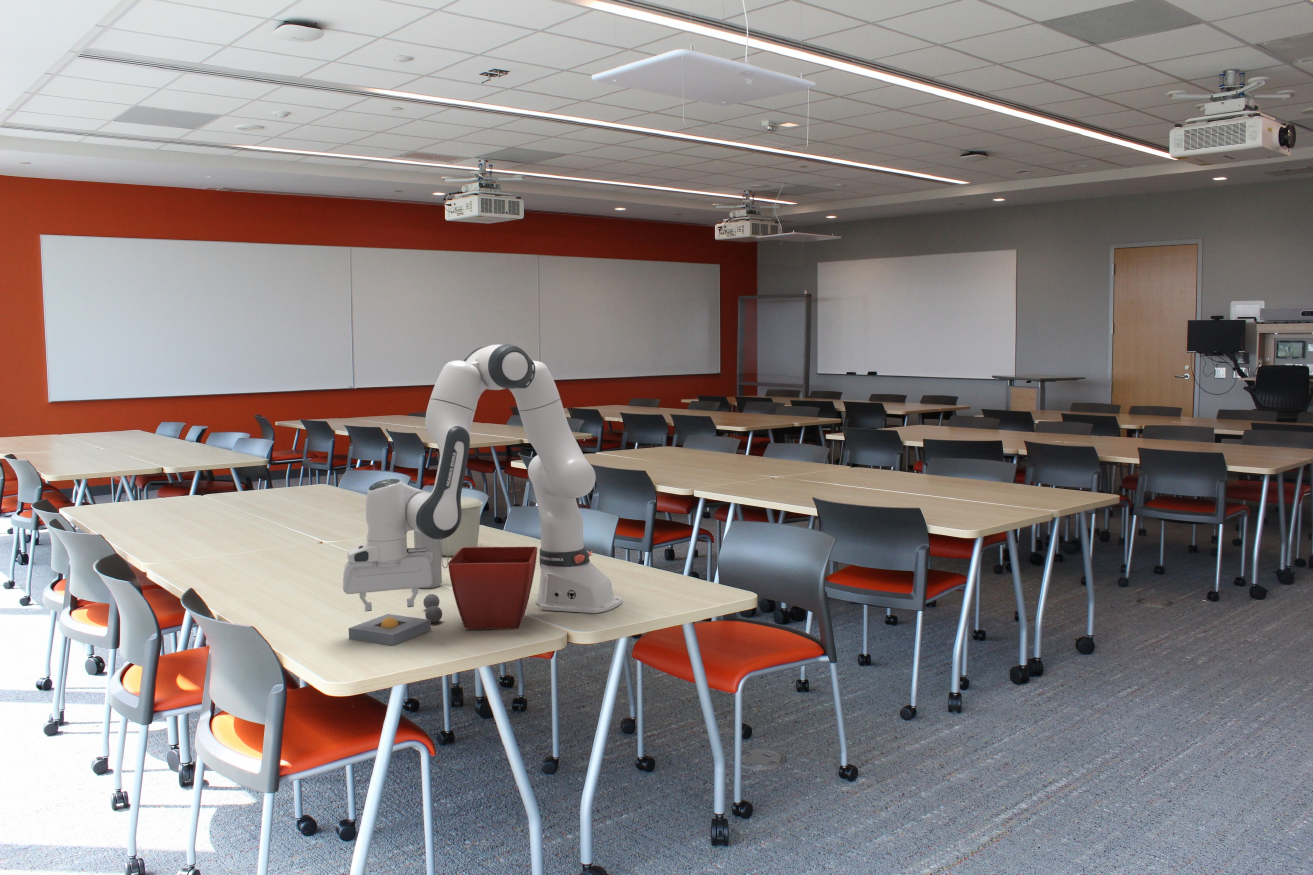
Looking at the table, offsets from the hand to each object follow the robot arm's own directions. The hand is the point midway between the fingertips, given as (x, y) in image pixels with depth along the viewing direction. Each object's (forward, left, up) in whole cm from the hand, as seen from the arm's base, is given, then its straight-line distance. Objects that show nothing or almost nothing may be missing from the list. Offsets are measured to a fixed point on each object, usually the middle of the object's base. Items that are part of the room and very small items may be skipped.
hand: (389, 608), depth 218 cm
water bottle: (+21, -41, -6) cm, 46 cm away
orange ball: (0, 0, -4) cm, 4 cm away
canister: (+42, -79, -6) cm, 90 cm away
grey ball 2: (-3, -12, -4) cm, 13 cm away
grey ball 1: (+5, -21, -4) cm, 22 cm away
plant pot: (-17, -18, -6) cm, 26 cm away
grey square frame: (0, 0, -6) cm, 6 cm away
